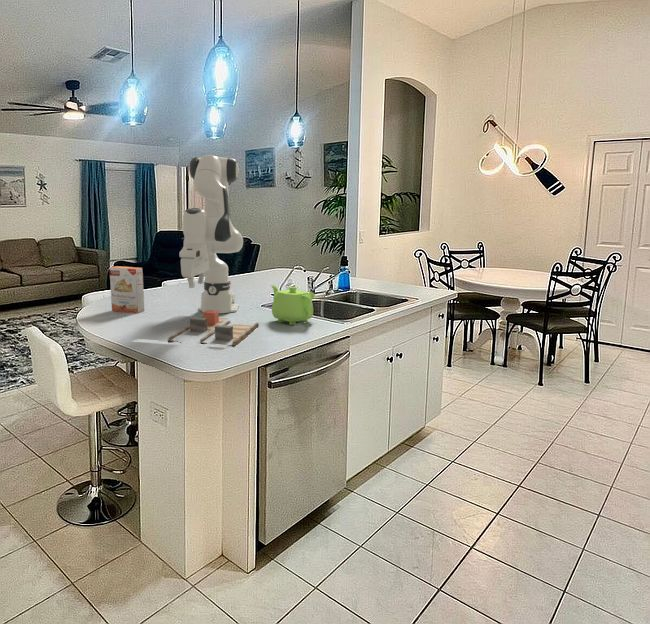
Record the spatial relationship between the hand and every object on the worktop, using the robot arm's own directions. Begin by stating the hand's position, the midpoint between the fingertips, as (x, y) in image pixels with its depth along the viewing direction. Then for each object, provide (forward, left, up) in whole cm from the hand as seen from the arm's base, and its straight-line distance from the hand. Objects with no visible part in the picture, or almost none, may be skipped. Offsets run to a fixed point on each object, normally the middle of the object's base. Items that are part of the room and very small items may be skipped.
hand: (196, 285), depth 216 cm
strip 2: (0, +15, -19) cm, 24 cm away
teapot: (-33, +33, -20) cm, 51 cm away
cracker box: (-32, -47, -20) cm, 60 cm away
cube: (-13, +1, -18) cm, 23 cm away
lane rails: (0, +8, -20) cm, 21 cm away
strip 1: (-10, +1, -19) cm, 22 cm away
